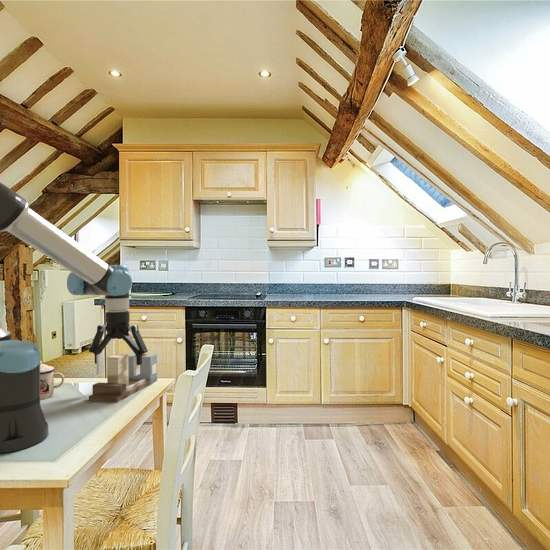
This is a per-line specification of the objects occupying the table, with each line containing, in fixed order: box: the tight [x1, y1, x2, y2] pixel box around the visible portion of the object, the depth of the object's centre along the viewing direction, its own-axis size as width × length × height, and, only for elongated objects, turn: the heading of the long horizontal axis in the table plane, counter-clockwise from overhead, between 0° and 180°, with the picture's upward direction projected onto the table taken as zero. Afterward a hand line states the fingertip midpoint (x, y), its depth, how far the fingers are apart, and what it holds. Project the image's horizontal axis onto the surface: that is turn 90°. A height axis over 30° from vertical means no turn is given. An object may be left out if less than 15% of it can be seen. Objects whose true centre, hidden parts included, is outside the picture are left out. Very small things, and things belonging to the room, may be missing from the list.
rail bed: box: [88, 377, 158, 403], centre depth 139 cm, size 26×10×4 cm, turn 169°
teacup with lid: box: [40, 360, 65, 401], centre depth 133 cm, size 12×9×12 cm
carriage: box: [106, 353, 129, 387], centre depth 135 cm, size 6×4×11 cm, turn 169°
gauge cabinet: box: [128, 353, 158, 385], centre depth 150 cm, size 5×10×10 cm, turn 79°
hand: (118, 374), depth 135 cm, fingers open, 13 cm apart
